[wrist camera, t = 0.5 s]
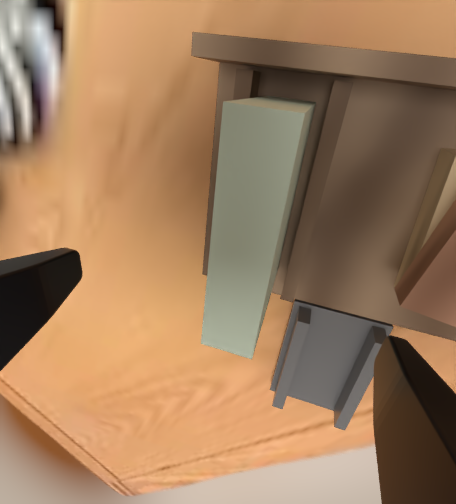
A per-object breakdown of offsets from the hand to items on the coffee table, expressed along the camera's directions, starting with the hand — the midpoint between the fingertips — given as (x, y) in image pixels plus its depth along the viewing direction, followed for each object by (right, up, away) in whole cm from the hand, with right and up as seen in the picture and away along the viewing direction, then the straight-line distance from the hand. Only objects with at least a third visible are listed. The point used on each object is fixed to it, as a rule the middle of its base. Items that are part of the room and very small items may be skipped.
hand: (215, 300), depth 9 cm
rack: (+8, +4, +9) cm, 13 cm away
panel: (+3, +5, +9) cm, 11 cm away
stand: (+8, -7, +15) cm, 18 cm away
